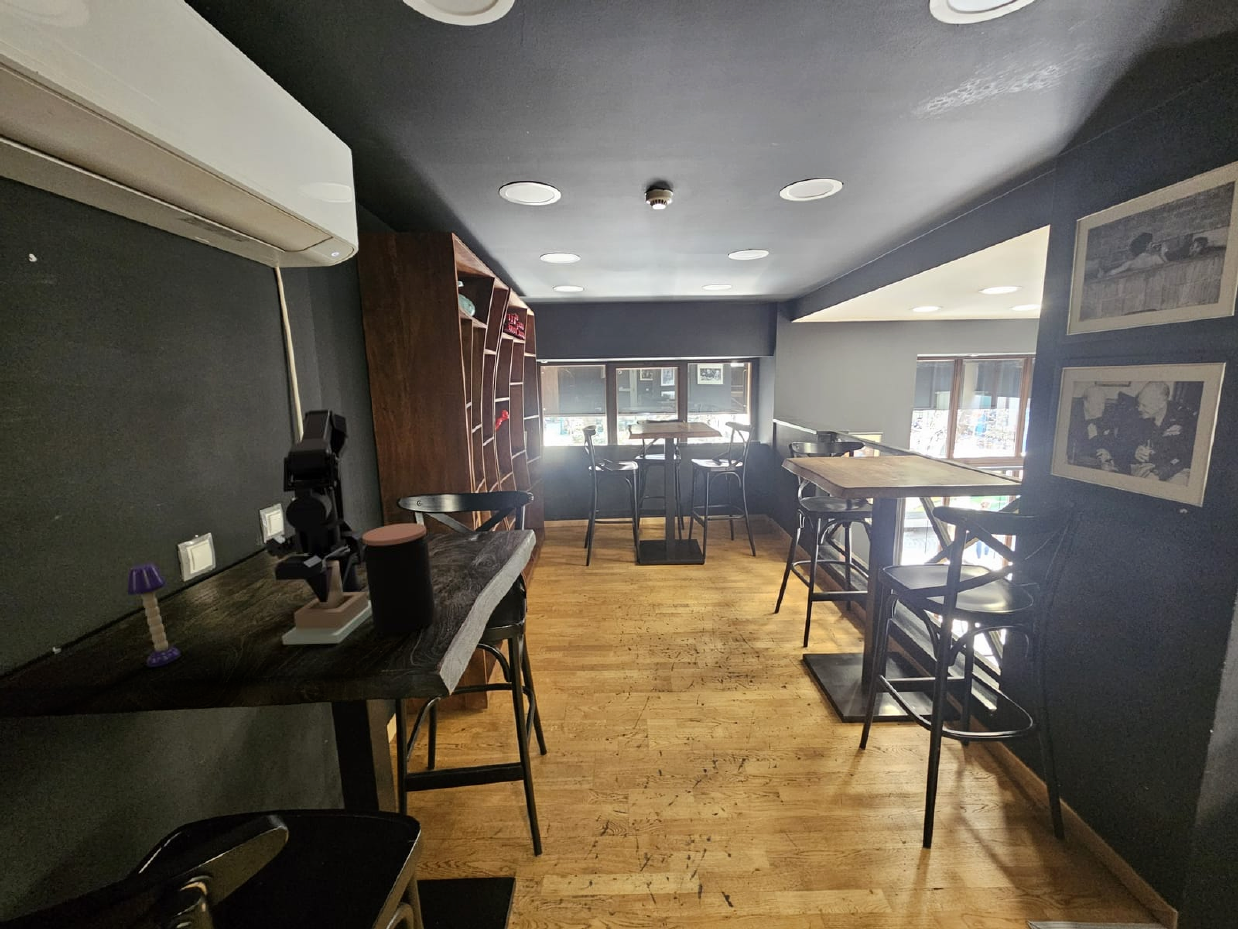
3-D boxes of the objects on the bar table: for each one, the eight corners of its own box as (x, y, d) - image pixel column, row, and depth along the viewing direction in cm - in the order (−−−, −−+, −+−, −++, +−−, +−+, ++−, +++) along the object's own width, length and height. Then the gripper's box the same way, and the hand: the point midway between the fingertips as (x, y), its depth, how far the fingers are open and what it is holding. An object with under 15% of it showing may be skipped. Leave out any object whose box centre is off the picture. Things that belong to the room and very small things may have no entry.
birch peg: (329, 605, 94) (322, 560, 93) (349, 604, 94) (343, 560, 93) (315, 614, 90) (308, 568, 89) (336, 614, 90) (330, 567, 89)
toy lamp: (136, 670, 80) (115, 573, 77) (154, 655, 84) (134, 563, 82) (172, 664, 81) (152, 568, 78) (187, 650, 86) (169, 559, 83)
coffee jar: (448, 617, 94) (438, 526, 91) (398, 644, 84) (386, 544, 82) (412, 606, 99) (401, 520, 96) (362, 630, 90) (348, 536, 87)
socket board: (331, 608, 100) (328, 587, 99) (379, 607, 99) (377, 586, 99) (283, 644, 86) (279, 620, 85) (338, 643, 86) (335, 619, 85)
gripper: (309, 505, 99) (320, 578, 101) (235, 533, 80) (251, 622, 83) (363, 503, 98) (373, 577, 101) (301, 531, 80) (315, 620, 83)
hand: (331, 597), depth 92 cm, fingers closed on birch peg, 4 cm apart
